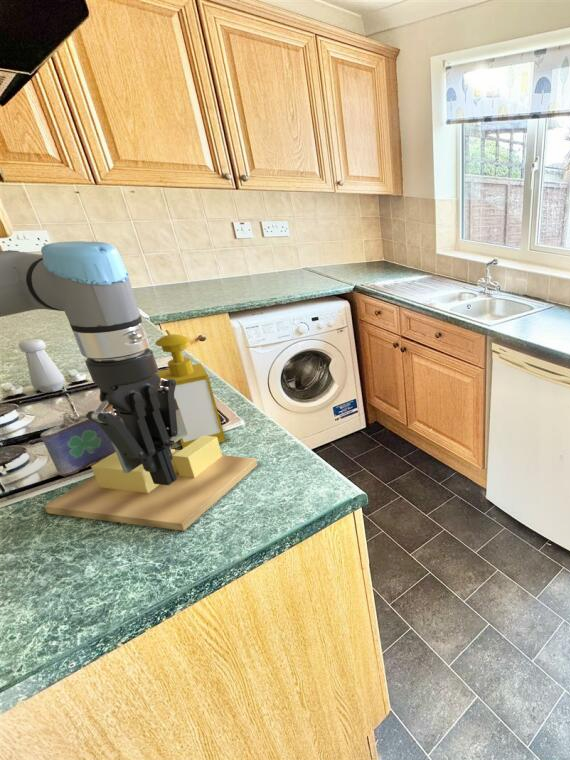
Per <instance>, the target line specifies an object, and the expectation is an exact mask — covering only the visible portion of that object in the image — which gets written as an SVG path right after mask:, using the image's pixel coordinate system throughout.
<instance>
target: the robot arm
mask: <svg viewBox="0 0 570 760" xmlns="http://www.w3.org/2000/svg"><path fill="white" fill-rule="evenodd" d="M40 252H41V254H40V253H34V252H33V253H31V252H25V251H20V250H15V249H14V250H10V249H8V250H0V318H1V317H7V316H12V315H17V314H22V313H25V312H26V313H27V312H31V311H35V310H48V311H58V312H64V313H65V316H66V318H67V320H68V323H69V325H70V328H71V330H72V333H73V336H74V339H75V341H76V344H77V346H78V349H79V351H80V354H81V356H82V357H84V358H86V359H85V361H84V362H85V365H86V367H87V370H88V374H89V375H90V378H91V380H92V382H93V383H94V384H95V385H96V386H97V387H98V389H99V401H100V404H99V405H98V407H97V408H96V409H95V410H90V411H87V418H88V419H89V420H91V421H93V422H95V423H97V424H98V425H99V426H100V427H101V428H102V430H103V431H104V432H105V433H106V435H107V436H108V437H109V439H110V440H111V441H112V442H113V444H114V445H115V446H116V447H117V449H118V450H119V451H120V452H121V454H122V455H123V456H124V457H128V458H137V459H140V460H141V462H142V465H143V467H144V470H145V471H147V472H150V475H151V477H152V480H153V483H154V484H160V485H170V484H171V483H172V482H174V481H175V480H177V477H176V474H175V471H174V468H173V465H172V463H171V460H173V456H172V453H171V450H170V449H171V447H173V446H174V445H175V443H174V441H171V440H170V439H171V438H172V437H175V436H177V434H178V430H177V419H176V409H175V398H174V392H175V387H176V381H175V380H171V379H161V378H160V377H159V375H158V371H159V367H158V363H157V361H156V357H155V355H154V352H153V350H152V349H150V348H149V347H150V346H151V345H150V344H151V343H150V339H149V337H148V333H147V331H146V328H145V324H144V322H143V319H142V316H141V312H140V309H139V306H138V303H137V300H136V299H137V298H136V297H135V293H134V291H133V287H132V284H131V280H130V273H129V271H127V268H126V267H125V263H124V261H123V259H122V257H121V255H120V252H119V250H118V249H117V248H116V247H115V246H114V245H112V244H110V243H108V242H104V241H85V240H78V241H76V240H75V241H58V242H51V243H47V244H44V245H43V246H42V247H41V249H40ZM114 410H115V411H116V412H115V411H114ZM118 417H119V418H118ZM121 418H122V419H123V422H124V424H123V423H122V422H121V421H120V420H119V419H121ZM124 425H125V426H124ZM167 428H169V429H167Z"/></svg>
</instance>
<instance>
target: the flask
mask: <svg viewBox="0 0 570 760" xmlns="http://www.w3.org/2000/svg"><path fill="white" fill-rule="evenodd" d="M87 413H88V412H87ZM87 413H83V414H82V415H79V416H73V415H72V414H71V412H65V413H63V414H62V415H60V416H59V418H62V419H63V420H62V422H63V423H61V424H58V425H56V426H54V427H51V428H49V429H46V430H45V431H43V432H42V433H40V438H41V440H42V443H43V444H44V446H45V448H46V450H47V452H48V454H49V457H50V459H51V461H52V463H53V465H54V467H55V469H56V471H57V474H58V475H59V476H60V477H67V476H70V475H74V474H76V473H78V472H79V471H81V470H83V469H86V468H88V467H91V466H93V465H94V464H96V463H98V462H99V461H101V460H103V459H105V458H106V457H108V456H110V455H111V454H113V453H115V452H116V451H115V449H114V447H113V444H112V441H111V440H110V439H109V437H108V436H107V435H106V433H105V432H104V431H103V430H102V428H101V427H100V426H99V425H98V424H97V423H95V422H93V421H91V420H89V419H88V418H87Z"/></svg>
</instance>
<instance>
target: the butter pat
mask: <svg viewBox="0 0 570 760" xmlns="http://www.w3.org/2000/svg"><path fill="white" fill-rule="evenodd" d="M179 450H180V451H179V452H177V453H176V454H174V455H173V458H174V461H175V464H176V467H177V470H178V473H179V476H184V477H193V478H195V477H196V476H197V475H199V474H200V473H201V472H203V471H204V470H205V469H207V468H208V467H209V466H210V465H212V464H213V463H214V462H216V461H217V460H218V459H219V458H221V457H222V455H223V453H222V450H221V446H220V443H219V442H218V439H217V437H213V436H204V435H203V436H201V437H200V438H198V439H197V440H195V441H194V442H192V443H191V444H189V445H188V446H186V447H185V448H183V447H182V449H179Z"/></svg>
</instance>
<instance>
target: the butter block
mask: <svg viewBox="0 0 570 760" xmlns="http://www.w3.org/2000/svg"><path fill="white" fill-rule="evenodd" d="M170 450H171V453H172V456H173V455H174V454H176V452H175V450H176V449H175V448H170ZM171 463H172V465H173V468H174V471H175V473H177V472H178V470H177V467H176V464H175V461H174V458H173V460H171ZM90 467H91V469H92V472H93V474H94V476H96V479H97V481H98V483H99V485H100V487H102V488H110V489H118V490H126V491H134V492H142V493H149V492H151V491H152V490H153V489H155V488H156V487H157V486H159V485H160V484H154V483H153V480H152V477H151V475H150V472H147V471H145V470H144V467H143V465H142V464H141V465H139V466H138V467H136V468H135V469H133V470H132V471H130V472H129V473H124V471H123V469H122V466H121V464H120V461H119V459H118V456H117V454H116V452H115V453H113V454H111V455H110V456H108V457H106V458H103V459H102V460H101V461H97V462H95V464H93V465H91V466H90Z"/></svg>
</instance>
